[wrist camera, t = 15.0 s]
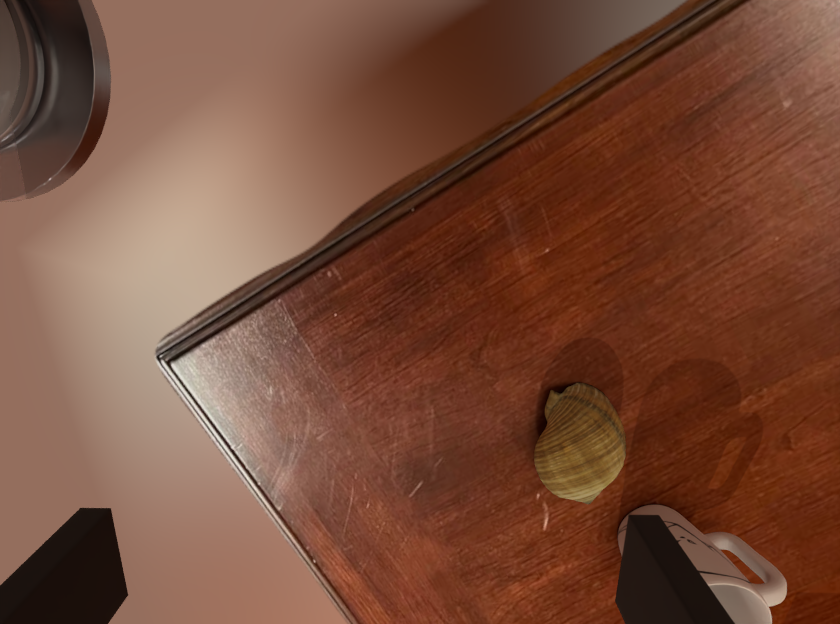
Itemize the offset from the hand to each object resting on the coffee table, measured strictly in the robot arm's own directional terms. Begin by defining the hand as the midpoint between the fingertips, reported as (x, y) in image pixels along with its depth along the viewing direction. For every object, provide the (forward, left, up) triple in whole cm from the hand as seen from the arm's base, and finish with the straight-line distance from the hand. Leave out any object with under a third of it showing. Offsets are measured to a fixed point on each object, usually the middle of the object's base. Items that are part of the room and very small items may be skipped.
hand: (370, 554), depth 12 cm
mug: (+24, -21, -28) cm, 42 cm away
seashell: (+14, -11, -28) cm, 33 cm away
